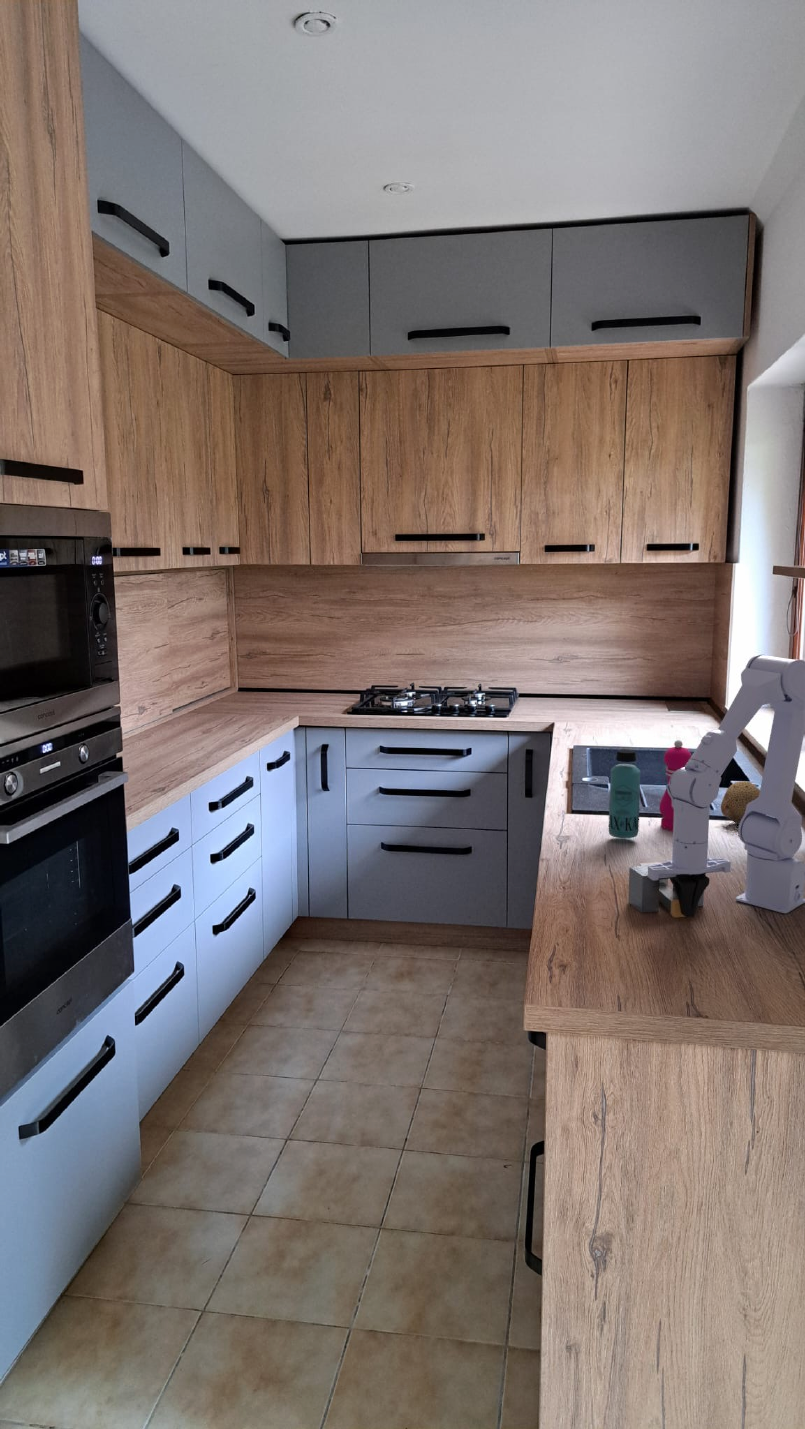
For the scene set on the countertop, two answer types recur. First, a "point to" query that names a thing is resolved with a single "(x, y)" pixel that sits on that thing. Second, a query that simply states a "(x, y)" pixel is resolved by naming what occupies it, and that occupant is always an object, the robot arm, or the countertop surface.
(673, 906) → the plug
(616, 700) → the countertop surface
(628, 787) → the beverage bottle
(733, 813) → the natural sponge
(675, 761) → the pepper mill
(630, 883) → the housing
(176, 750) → the countertop surface
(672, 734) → the countertop surface
